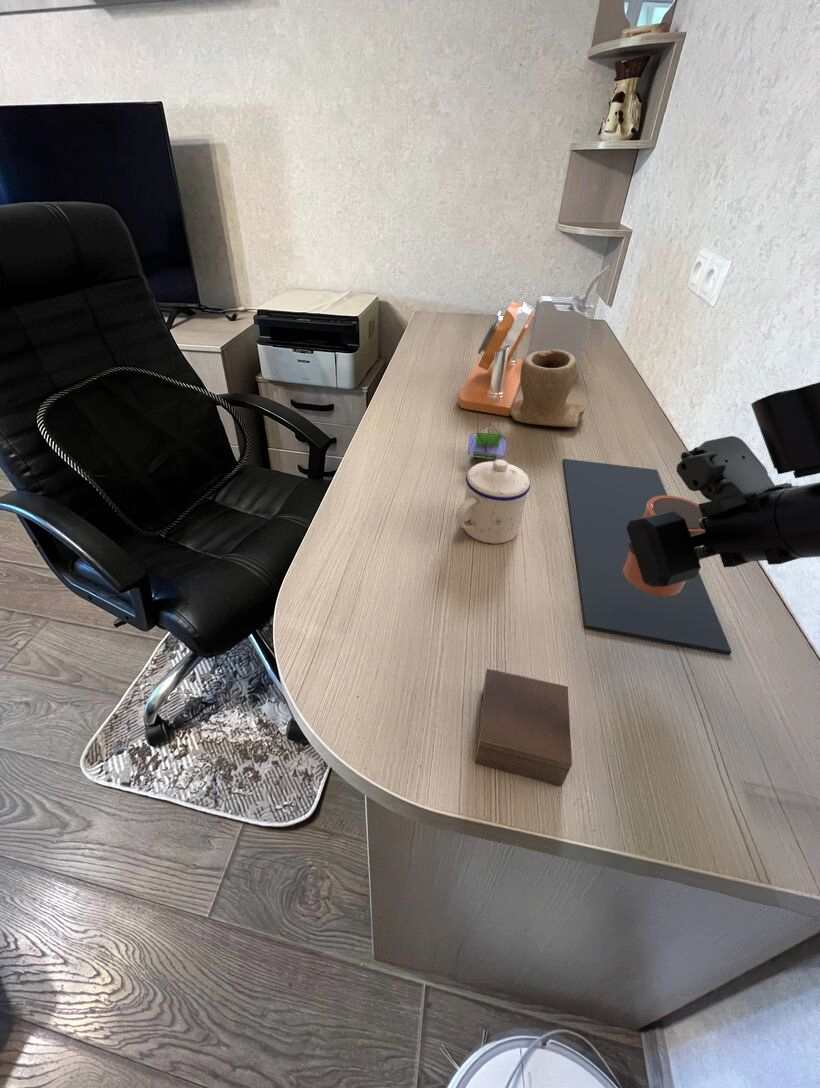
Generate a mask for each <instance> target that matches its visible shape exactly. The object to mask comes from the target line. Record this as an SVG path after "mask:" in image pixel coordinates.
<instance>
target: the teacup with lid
mask: <svg viewBox="0 0 820 1088" xmlns="http://www.w3.org/2000/svg"><path fill="white" fill-rule="evenodd" d="M465 482H466V486H465V492H464V493H465V494H464V501H462V503H461V504H460V505H459V507H458V508H457V510H456V514H455V521H456V523H457V525H458V526H459V527H460V528H462V529H463V530H464V531H465V533H467V535H469V536H470V537H471V538H473V539H475V540H477V541H479V542H482V543H485V544H492V545H493V544H503V543H507V542H508V543H509V542H510V541H512V540H513V539H514V538H516V537H517V535H518V533H519V531H520V527H521V522H522V517H523V512H524V507H525V504H526V499H527V495H528V492H529V491H530V489H531V483H530V479H529V477H528V475H527V473H526V472H525V471H523V470H522V469H521V468H519V467H517V466H515V465H513V464H511V463H508V461H506V460H505V459H495V460H493V461H492V460H491V461H486V462H485V461H484V462H478V463H476V464H475V465H473V466H472V467H471V468H470V469H469V470H468V471H467V473H466V475H465Z"/></svg>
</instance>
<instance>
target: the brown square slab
mask: <svg viewBox="0 0 820 1088" xmlns="http://www.w3.org/2000/svg"><path fill="white" fill-rule="evenodd" d="M480 701H482V710H481V719H480V720H481V721H480V731H479V737H478V741H477V745H476V750H475V759H474V763H475V764H477V765H481V766H484V767H489V768H491V769H495V770H500V771H503V772H507V773H511V774H515V775H518V776H521V777H525V778H529V779H533V780H537V781H540V782H544V783H548V784H553V785H556V786H560V787H563V786H564V783H565V782H566V779H567V777H568V774H569V773H570V770H571V768H572V765H573V757H572V740H571V739H572V738H571V722H570V704H569V703H570V701H569V687H568V685H564V684H558V683H555V682H549V681H546V680H541V679H537V678H532V677H528V676H523V675H519V674H515V673H509V672H505V671H501V670H496V669H492V668H486V671H485V676H484V680H483V685H482V690H481V698H480Z"/></svg>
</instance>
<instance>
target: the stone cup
mask: <svg viewBox="0 0 820 1088" xmlns="http://www.w3.org/2000/svg"><path fill="white" fill-rule="evenodd" d="M522 360H523V363H522V366H521V375H520V381H521V384H520V387H521V392H522V399H519V400H516V401H514V403H513V405H512V406H511V409H510V414H509V415H510V416H511V417H512V419H513V420H514V421H516V422H519V423H523V424H529V425H530V424H531V425H536V426H548V427H562V428H576V427H577V426H578V425H579V422H580V421H581V420H582V418H583V416H584V413H585V410H586V404H576V403H568V402H567V399H568V397H569V395H570V392H571V390H572V388H573V385H574V383H575V381H576V379H577V374H578V371H577V363H576V360H575V358H574V356H573V355H571V354H570V353H568V352H566V351H563V350H558V349H553V350H548V351H536V352H533V353H531V354H530V355H528V356H527V355H526V356H525V358H524V359H522Z"/></svg>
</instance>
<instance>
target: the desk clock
mask: <svg viewBox="0 0 820 1088" xmlns="http://www.w3.org/2000/svg"><path fill="white" fill-rule="evenodd" d="M502 313H503V309H500V310H499V311H498V312H497V314H496V315H495V317H494V319H493V321H492V323H491V324H490V326H489V328H488V331H487V332H486V334H485V336H484V338H483V340H482V342H481V344H480V346H479V348H478V351H477V354H478V355H480V354H482V352H483V354H482V356H481V357H480V358H479V359H478V361H477V363H476V364H475V366H474V368H473V370H472V371H471V373H470V374H469V376H468V378H467V380H466V382H465V383H464V385H463V387H462V388H461V390H460V391H459V396H458V405H459V407H460V408H462V409H465V410H470V411H474V412H475V411H476V412H482V413H488V414H495V415H500V416H507V417H509V416H510V415H511V414H510V409H511V406H512V405H513V404H514V403H515V399H516V397H517V394H518V392H519V389H520V387H521V381H520V375H521V366H522V363H523V360H524V359H520V358H517V353H518V348H519V345H520V343H521V342H522V339H523V338H524V336H525V334H526V332H527V330H528V328H529V324H530V323H531V321H532V319H533V317H534V314H535V309H534V305H532V304H530V303H529V302H527V301H524V302H523V304H521V303H517V302H515V301H511V302H510V303H509V306H508V307H507V309H506V311H505V312H504V315H502Z"/></svg>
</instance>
